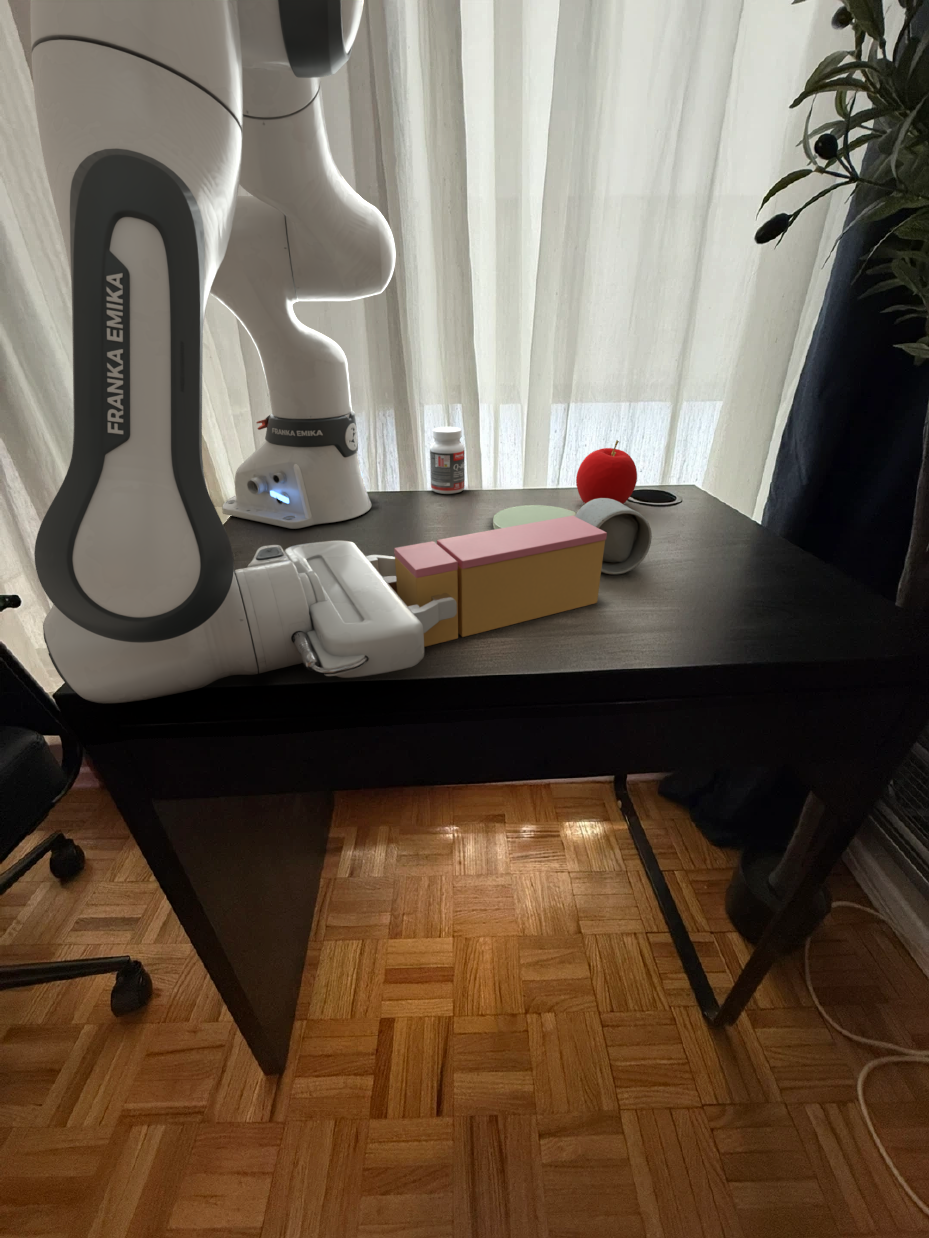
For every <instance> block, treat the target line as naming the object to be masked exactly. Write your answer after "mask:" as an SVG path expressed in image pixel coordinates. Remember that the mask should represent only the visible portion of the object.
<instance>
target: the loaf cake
mask: <svg viewBox="0 0 929 1238" xmlns="http://www.w3.org/2000/svg"><path fill="white" fill-rule="evenodd" d="M606 537H607V532H605V531H603V530H601V529H599V528H597V527H595V526H593V525H591V524H589V523H587V522H585V521H583V520H581V519H579V518H577V517H575V516H568V517H562V518H557V519H551V520H545V521H540V522H534V523H529V524H523V525H517V526H512V527H506V528H501V529H490V530H484V531H479V532H474V533H468V534H467V533H466V534H462V535H457V536H451V537H446V538H439V539H437V540H436V544H437V545H438V546H440V547H441V548H442V549H443V550H444V551H445V552H447V553H448V554H449V555H450V556H451V557H453V558H454V559H455V560H456V561H457V562H458V569H457V580H458V635H460V636H461V638H464V637H469V636H473V635H476V634H477V635H478V634H480V633H485V632H488V631H492V630H496V629H500V628H504V627H508V626H512V625H515V624H519V623H524V622H528V621H531V620H536V619H539V618H543V617H547V616H551V615H554V614H555V615H556V614H558V613H559V614H560V613H563V612H567V611H571V610H574V609H579V608H582V607H586V606H590V605H594V604H598V599H599V593H600V583H601V575H602V572H601V569H602V561H603V553H604V545H605V540H606Z"/></svg>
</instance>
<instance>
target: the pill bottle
mask: <svg viewBox="0 0 929 1238" xmlns="http://www.w3.org/2000/svg"><path fill="white" fill-rule="evenodd" d="M462 437H463V435H462V428H460V427H457V426H439V427H435V428H433V429H432V438H433V442H432V443H431V444H430V447H429V463H430V464H429V465H430V466H429V468H430V489H431V490H432V491H433V492H434V493H437V494H443V495H452V494H459V493H462V491H464V489H465V486H466V485H465V481H466V480H465V468H466V467H465V466H466V465H465V458H466V457H465V455H466V454H465V451H466V450H465V446H464V444H463V442H461V438H462Z"/></svg>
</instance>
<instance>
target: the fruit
mask: <svg viewBox="0 0 929 1238" xmlns="http://www.w3.org/2000/svg"><path fill="white" fill-rule="evenodd" d="M615 440H616V441H615V444H614V447H613V448H612V447H603V448H600V449H596V450H594V451H592V452H590V453H589V454H587V455H586V456H585V458H584V459H583V460H582V462H581V463H580V465H579V467H578V470H577V471H576V472H577V473H576V478H575V483H576V489H577V492H578V495H579V498H580V499H581V502H583V503H584V504H586V503H587V502H589V501H591V500H593V499H598V498H609V499H613V500H616V501H618V502H620V503H622V504H623V505H625V503H626V502H627V501H628V500H629V499H630V497H631V496H632V494H633V493H634V491H635V489H636V485H637V482H638V470H637V465H636V463H635V461H634V459H633V458H632V457H631V455H630V454H628V453H627V451H624V450H621V449H618V448H617V446H618V444H619V442H620V440H618V439H615Z"/></svg>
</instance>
